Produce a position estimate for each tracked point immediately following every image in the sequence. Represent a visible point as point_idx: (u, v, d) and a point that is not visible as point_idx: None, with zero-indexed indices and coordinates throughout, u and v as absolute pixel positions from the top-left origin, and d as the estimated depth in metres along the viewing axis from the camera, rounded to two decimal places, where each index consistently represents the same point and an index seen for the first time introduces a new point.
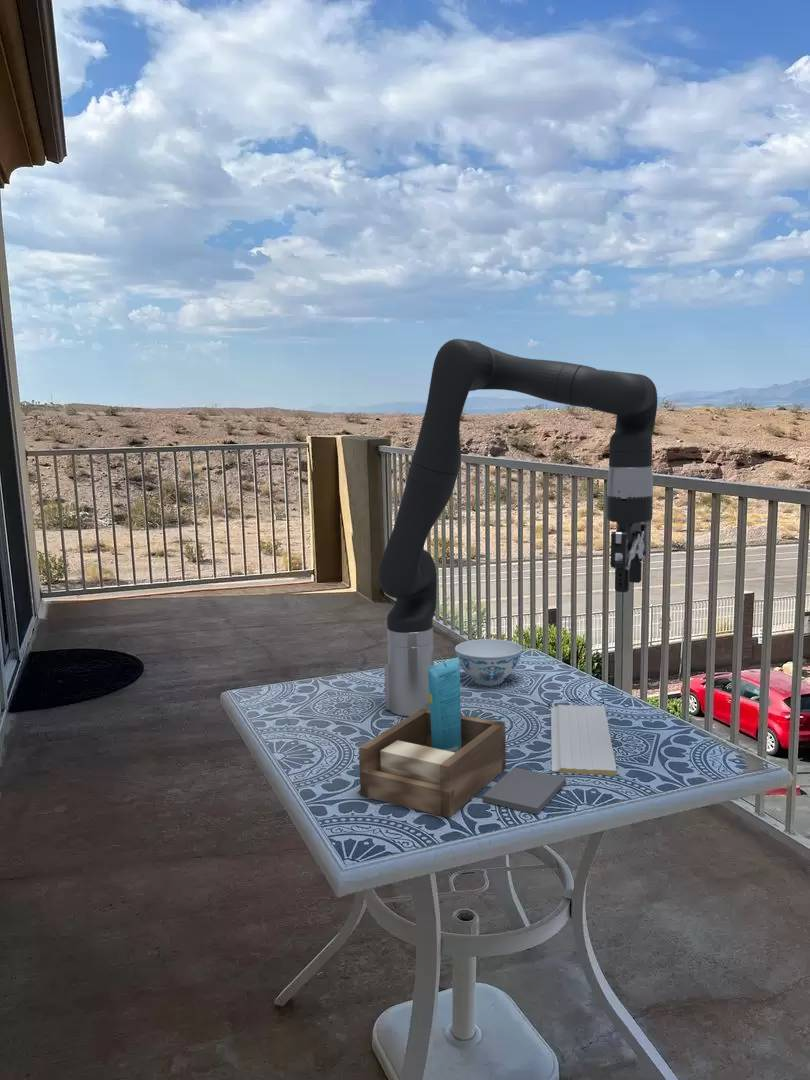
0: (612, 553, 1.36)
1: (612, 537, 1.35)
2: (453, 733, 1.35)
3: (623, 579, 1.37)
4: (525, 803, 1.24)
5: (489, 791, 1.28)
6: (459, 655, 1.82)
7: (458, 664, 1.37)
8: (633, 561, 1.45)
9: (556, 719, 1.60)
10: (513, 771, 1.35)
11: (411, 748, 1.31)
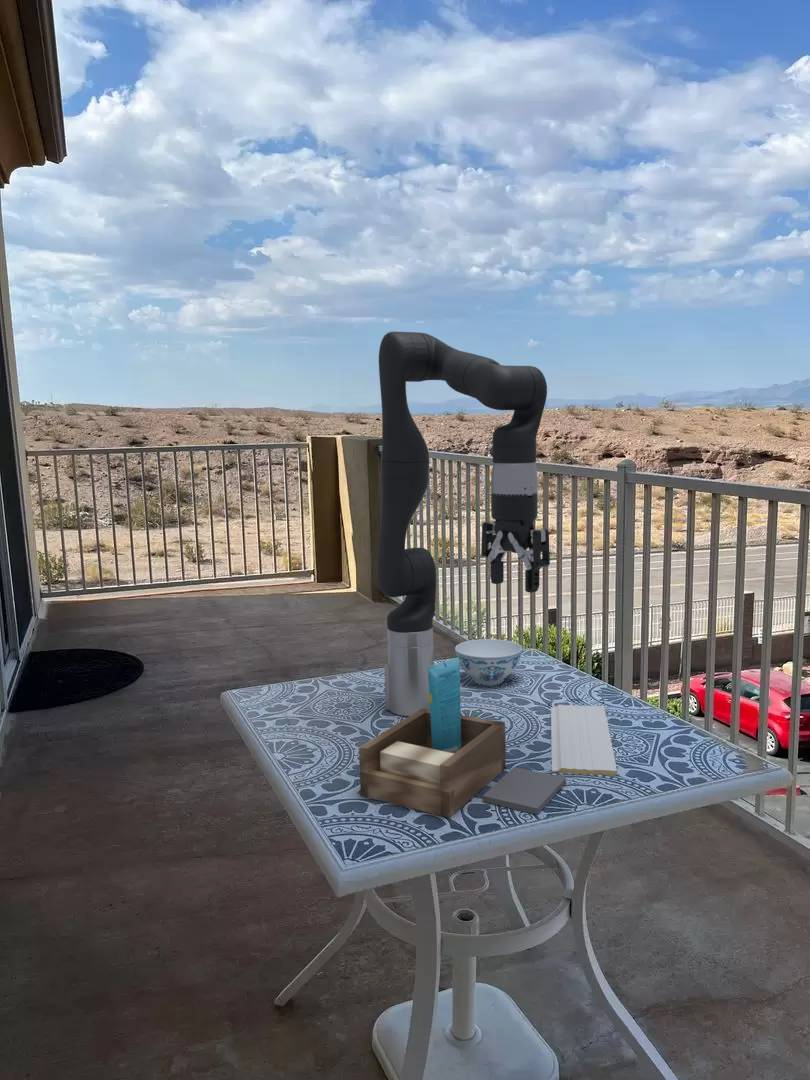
0: (539, 552, 1.30)
1: (538, 536, 1.29)
2: (453, 733, 1.35)
3: (538, 578, 1.32)
4: (525, 803, 1.24)
5: (489, 791, 1.28)
6: (459, 655, 1.82)
7: (458, 664, 1.37)
8: (495, 562, 1.40)
9: (556, 719, 1.60)
10: (513, 771, 1.35)
11: (411, 749, 1.30)
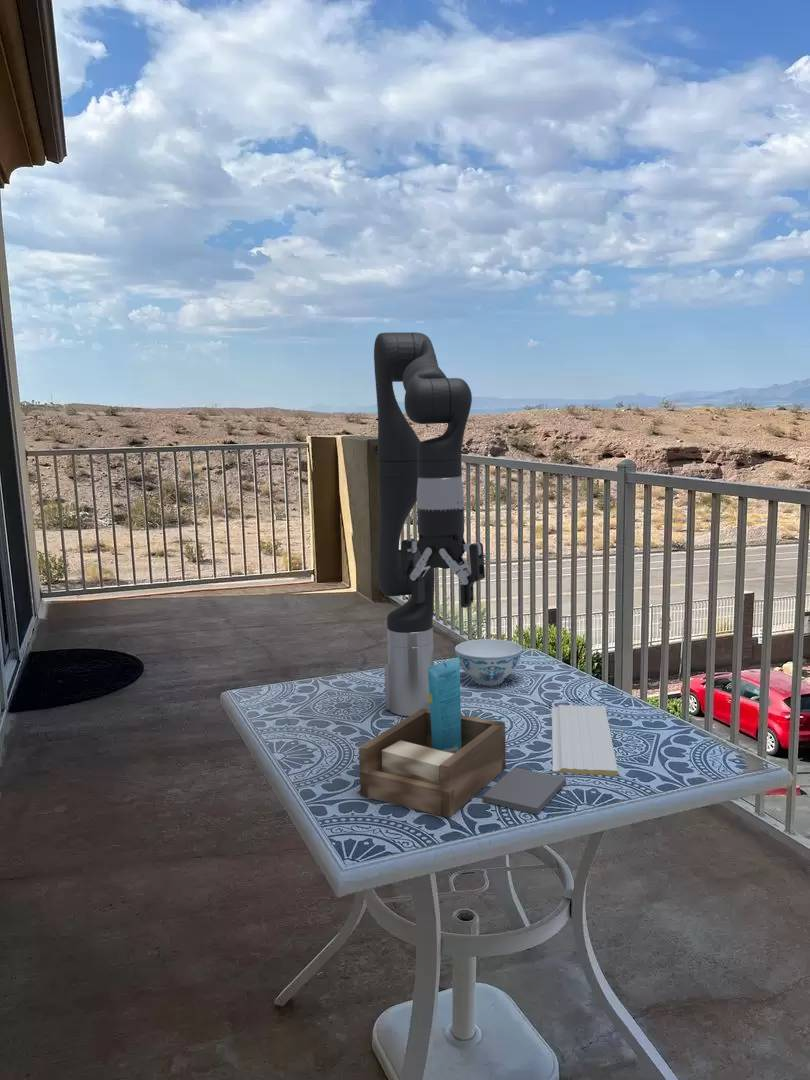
0: (478, 566, 1.29)
1: (476, 549, 1.28)
2: (453, 733, 1.35)
3: (472, 593, 1.31)
4: (525, 803, 1.24)
5: (489, 791, 1.28)
6: (459, 655, 1.82)
7: (458, 664, 1.37)
8: (418, 580, 1.35)
9: (556, 719, 1.60)
10: (513, 771, 1.35)
11: (412, 749, 1.31)
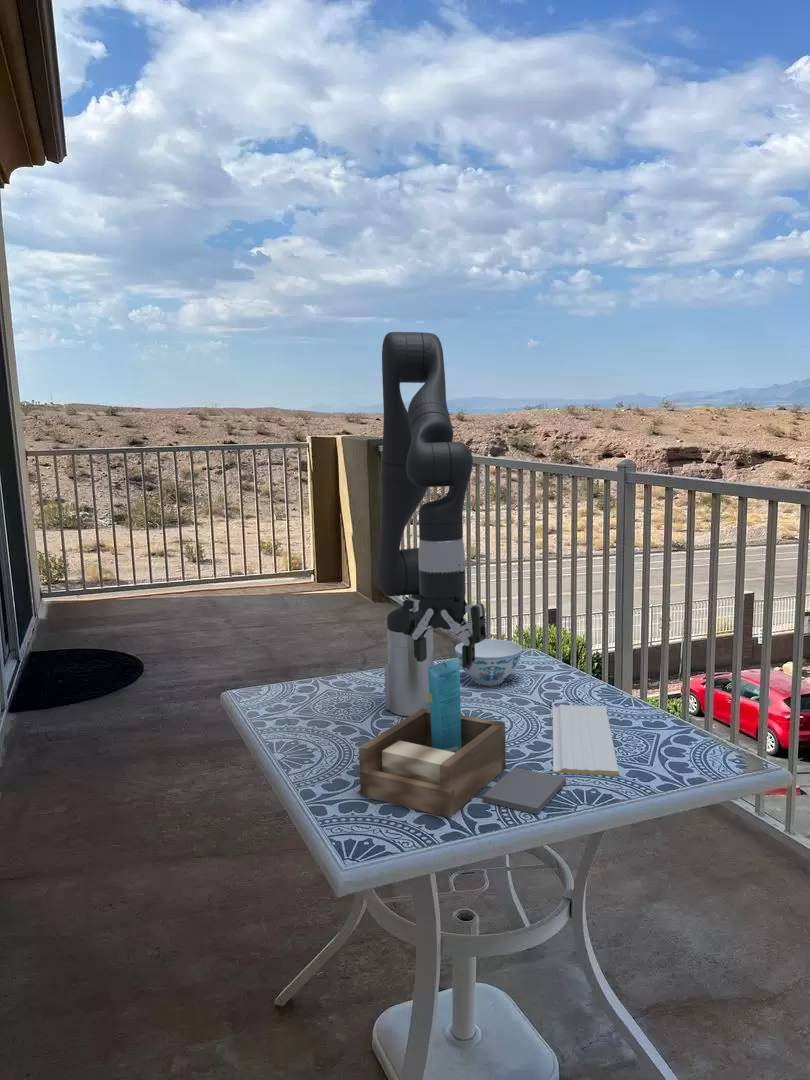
0: (479, 628, 1.30)
1: (478, 612, 1.30)
2: (453, 733, 1.35)
3: (474, 653, 1.33)
4: (525, 803, 1.24)
5: (489, 791, 1.28)
6: (459, 655, 1.82)
7: (458, 664, 1.37)
8: (420, 639, 1.37)
9: (557, 719, 1.60)
10: (513, 771, 1.35)
11: (413, 748, 1.31)
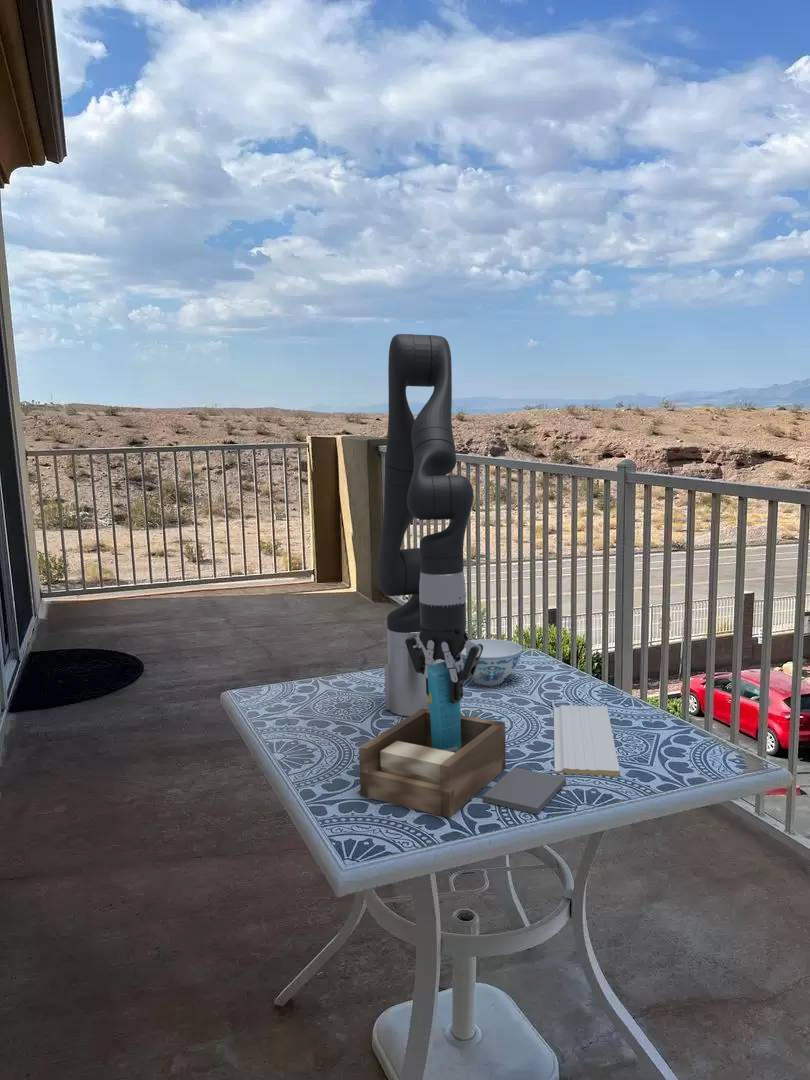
0: (471, 668, 1.32)
1: (476, 654, 1.31)
2: (453, 733, 1.35)
3: (462, 689, 1.35)
4: (525, 803, 1.24)
5: (489, 791, 1.28)
6: None
7: None
8: None
9: (558, 720, 1.59)
10: (513, 771, 1.35)
11: (411, 748, 1.31)
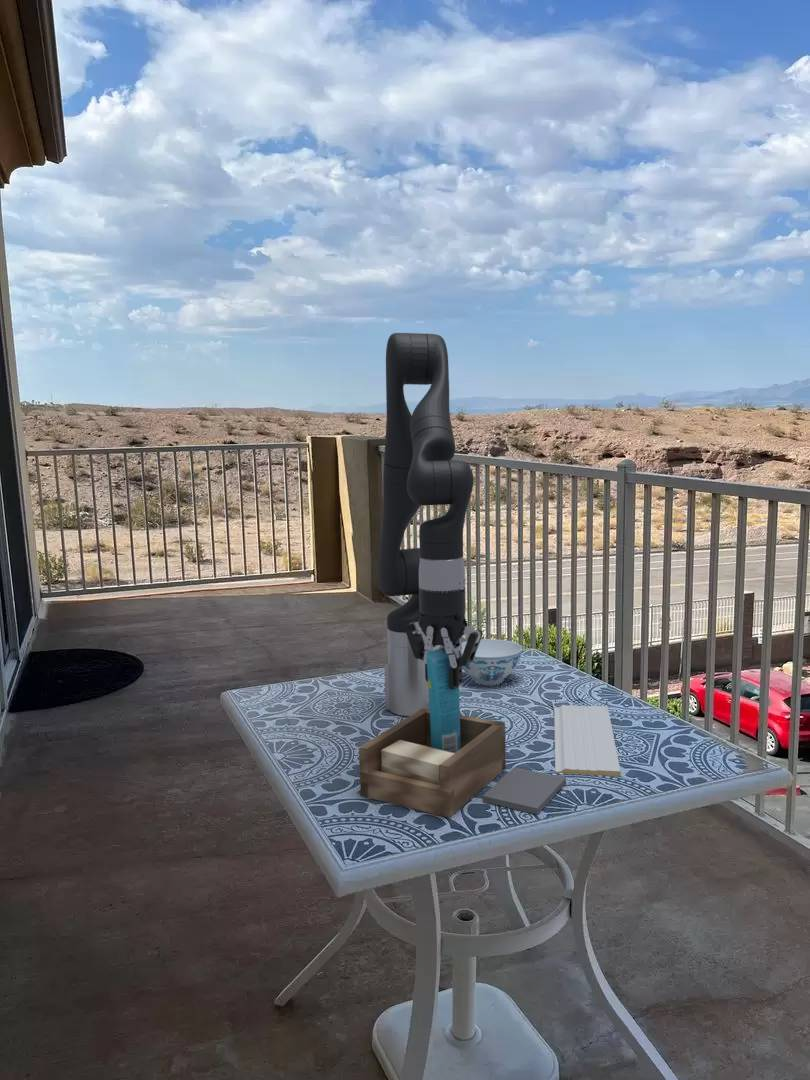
0: (470, 654, 1.31)
1: (475, 640, 1.30)
2: (452, 719, 1.35)
3: (461, 675, 1.34)
4: (525, 803, 1.24)
5: (489, 791, 1.28)
6: None
7: None
8: None
9: (559, 720, 1.59)
10: (513, 771, 1.35)
11: (412, 748, 1.31)
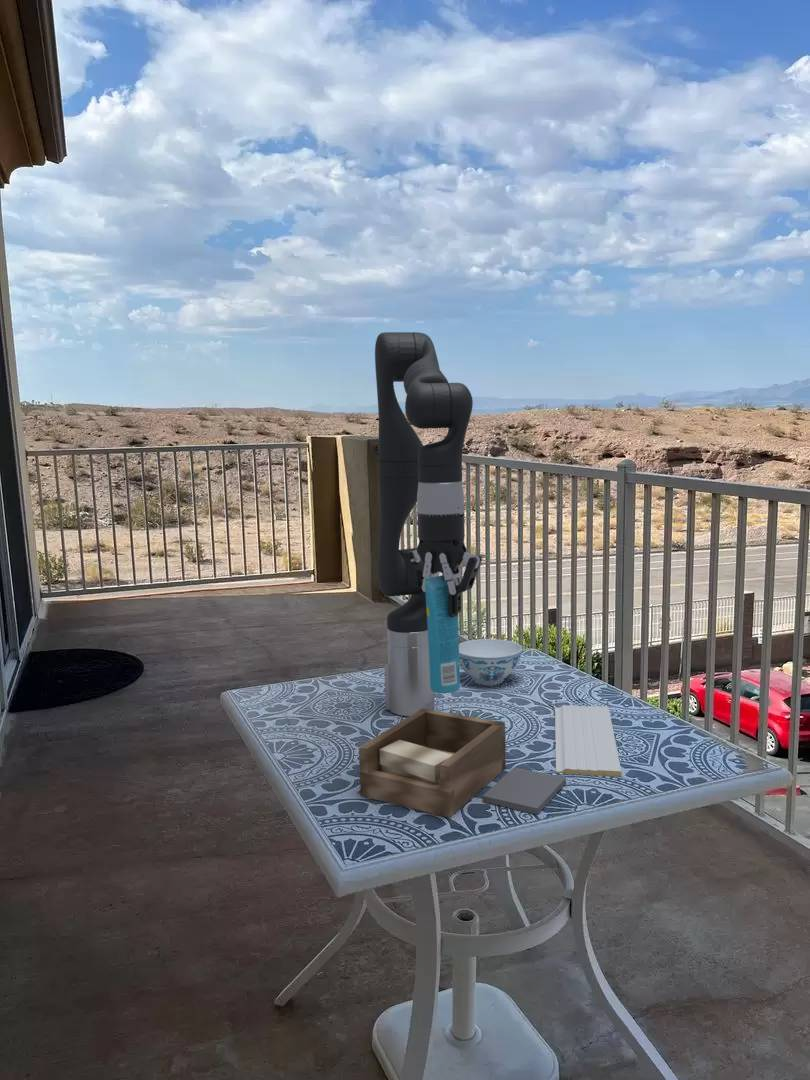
0: (469, 579, 1.30)
1: (474, 564, 1.29)
2: (451, 647, 1.33)
3: (460, 602, 1.33)
4: (525, 803, 1.24)
5: (489, 791, 1.28)
6: (459, 655, 1.82)
7: None
8: None
9: (560, 720, 1.59)
10: (513, 771, 1.35)
11: (410, 748, 1.31)
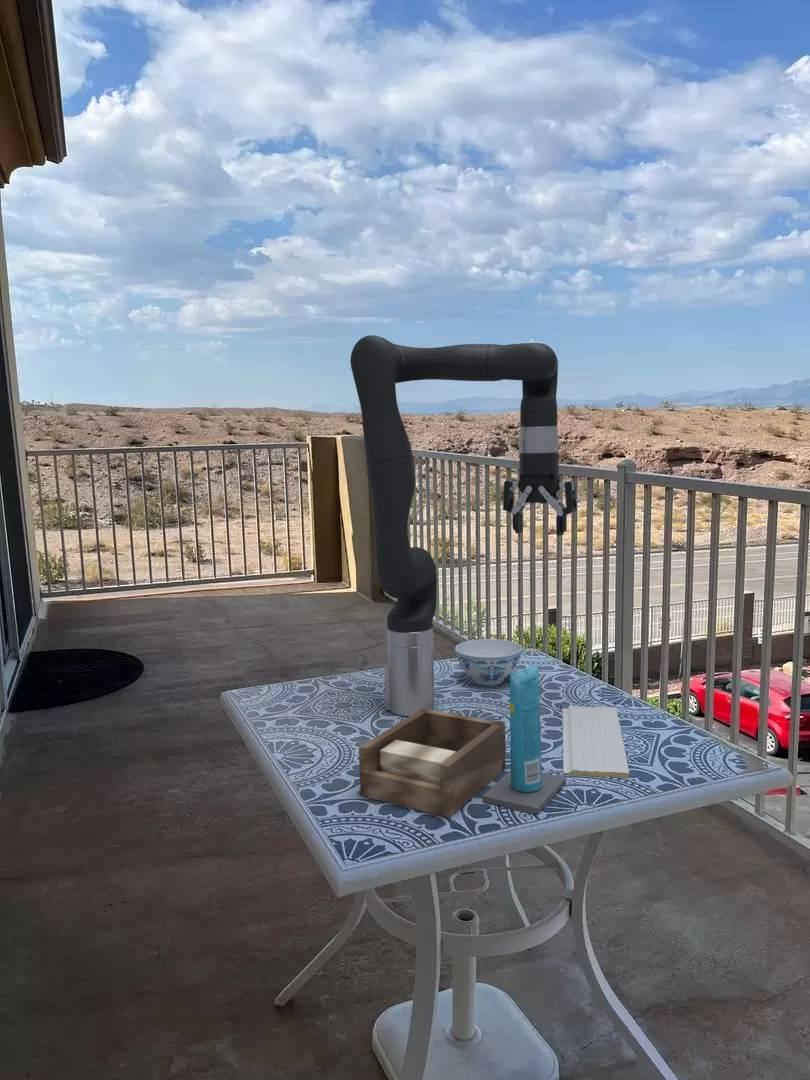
0: (572, 500, 1.55)
1: (571, 486, 1.55)
2: (535, 744, 1.27)
3: (566, 523, 1.58)
4: (525, 803, 1.24)
5: (489, 791, 1.28)
6: (459, 655, 1.82)
7: (537, 670, 1.29)
8: (518, 514, 1.62)
9: (567, 721, 1.59)
10: None
11: (410, 747, 1.31)
